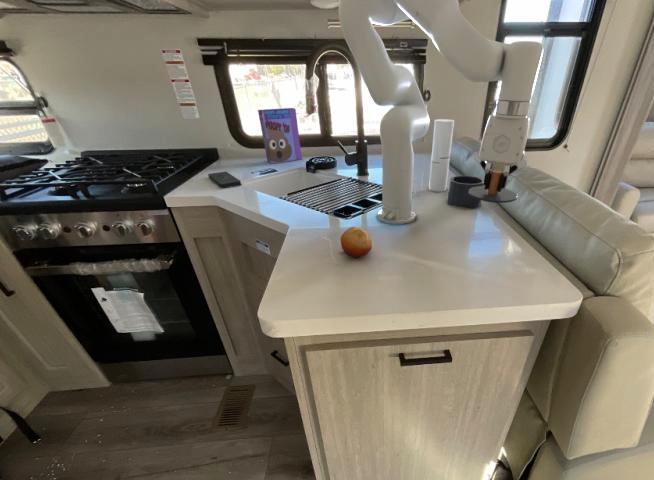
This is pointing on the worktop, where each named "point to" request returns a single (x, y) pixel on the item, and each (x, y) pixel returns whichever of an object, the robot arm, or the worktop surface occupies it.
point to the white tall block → (440, 154)
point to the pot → (463, 191)
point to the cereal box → (280, 135)
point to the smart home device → (224, 179)
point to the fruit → (356, 242)
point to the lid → (493, 191)
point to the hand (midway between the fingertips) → (493, 188)
